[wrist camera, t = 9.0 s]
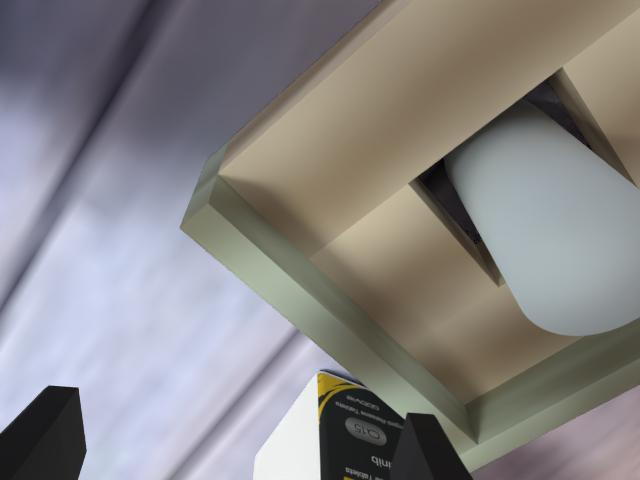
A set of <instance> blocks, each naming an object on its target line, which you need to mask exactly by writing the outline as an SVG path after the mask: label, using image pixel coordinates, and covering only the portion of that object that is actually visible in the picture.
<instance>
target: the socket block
mask: <svg viewBox="0 0 640 480" xmlns="http://www.w3.org/2000/svg"><path fill="white" fill-rule="evenodd" d="M545 79H547V80H548V82H549V83H550V85H551V86H552V88H553V89H554V91H555V93H556V94H557V96H558V97H559V99H560V100H561V102H562V103H563V105H564V107H565V108H566V110H567V111H568V113H569V114H570V116H571V117H572V119H573V120H574V122H575V124H576V125H577V127H578V128H579V130H580V131H581V133H582V134H583V136H584V137H585V139H586V141H587V142H588V144H589V145H590V147H591V148H592V150H593V151H594V153H595V154H596V155H597V156H599V157H600V158H601V159H602V160H604V161H605V162H606V163H607V164H609V165H610V166H611V167H612V168H614V169H615V170H616V171H617V172H618V173H620V174H621V175H622V176H623V177H625V178H626V179H627V180H628V181H630V182H631V183H632V184H633V185H635V186H636V187H637V188H638V189H640V0H383V1H382V2H381V3H380V4H378V5H377V6H376V7H375V8H374V9H373V10H372V11H371V12H370V13H369V14H367V15H366V16H365V17H364V18H363V19H362V20H361V21H360V22H359V23H358V24H356V25H355V26H354V27H353V28H352V29H351V30H350V31H349V32H348V33H347V34H345V35H344V36H343V37H342V38H341V39H340V40H339V41H338V42H337V43H336V44H334V45H333V46H332V47H331V48H330V49H329V50H328V51H327V52H326V53H325V54H323V55H322V56H321V57H320V58H319V59H318V60H317V61H316V62H315V63H314V64H312V65H311V66H310V67H309V68H308V69H307V70H306V71H305V72H304V73H303V74H301V75H300V76H299V77H298V78H297V79H296V80H295V81H294V82H293V83H292V84H290V85H289V86H288V87H287V88H286V89H285V90H284V91H283V92H282V93H281V94H279V95H278V96H277V97H276V98H275V99H274V100H273V101H272V102H271V103H270V104H268V105H267V106H266V107H265V108H264V109H263V110H262V111H261V112H260V113H259V114H257V115H256V116H255V117H254V118H253V119H252V120H251V121H250V122H249V123H248V124H246V125H245V126H244V127H243V128H242V129H241V130H240V131H239V132H238V133H237V134H235V135H234V136H233V137H232V138H231V139H230V140H229V141H228V142H227V143H226V144H224V145H223V146H222V147H221V148H220V149H219V150H218V151H217V152H216V153H215V154H213V155H212V156H211V157H210V158H209V159H208V160H207V161H206V163H205V165H204V168H203V170H202V173H201V175H200V178H199V180H198V183H197V185H196V188H195V190H194V193H193V195H192V198H191V200H190V203H189V205H188V208H187V210H186V213H185V215H184V218H183V220H182V223H181V225H180V229H181V230H182V231H183V232H185V233H186V234H187V235H188V236H189V237H190V238H192V239H193V240H194V241H195V242H196V243H198V244H199V245H200V246H201V247H202V248H203V249H205V250H206V251H207V252H208V253H209V254H210V255H212V256H213V257H214V258H215V259H216V260H218V261H219V262H220V263H221V264H222V265H223V266H225V267H226V268H227V269H228V270H229V271H231V272H232V273H233V274H234V275H235V276H236V277H238V278H239V279H240V280H241V281H242V282H243V283H245V284H246V285H247V286H248V287H249V288H251V289H252V290H253V291H254V292H255V293H256V294H258V295H259V296H260V297H261V298H262V299H264V300H265V301H266V302H267V303H268V304H269V305H271V306H272V307H273V308H274V309H275V310H276V311H278V312H279V313H280V314H281V315H282V316H284V317H285V318H286V319H287V320H288V321H289V322H291V323H292V324H293V325H294V326H295V327H297V328H298V329H299V330H300V331H301V332H302V333H304V334H305V335H306V336H307V337H308V338H310V339H311V340H312V341H313V342H314V343H315V344H317V345H318V346H319V347H320V348H321V349H322V350H324V351H325V352H326V353H327V354H328V355H330V356H331V357H332V358H333V359H334V360H335V361H337V362H338V363H339V364H340V365H341V366H343V367H344V368H345V369H346V370H347V371H348V372H350V373H351V374H352V375H353V376H354V377H355V378H357V379H358V380H359V381H360V382H361V383H363V384H364V385H365V386H366V387H367V388H368V389H370V390H371V391H372V392H373V393H374V394H376V395H377V396H378V397H379V398H380V399H381V400H383V401H384V402H385V403H386V404H387V405H388V406H390V407H391V408H392V409H393V410H394V411H396V412H397V413H398V414H399V415H400V416H401V417H403V418H404V419H405V418H406V415H407V412H410V413H423V414H434V415H435V417H436V418H437V419H438V421H439V423H440V424H441V426H442V428H443V430H444V431H445V433H446V435H447V437H448V438H449V440H450V442H451V444H452V445H453V447H454V449H455V450H456V452H457V454H458V455H459V457H460V459H461V460H462V462H463V464H464V465H465V467H466V469H467V470H468V472H469V473H471V472H473V471H475V470H477V469H478V468H480V467H482V466H484V465H486V464H488V463H490V462H492V461H494V460H496V459H498V458H500V457H501V456H503V455H505V454H507V453H509V452H511V451H513V450H515V449H517V448H519V447H521V446H523V445H524V444H526V443H528V442H530V441H532V440H534V439H536V438H538V437H540V436H542V435H544V434H546V433H547V432H549V431H551V430H553V429H555V428H557V427H559V426H561V425H563V424H565V423H567V422H569V421H570V420H572V419H574V418H576V417H578V416H580V415H582V414H584V413H586V412H588V411H590V410H592V409H594V408H595V407H597V406H599V405H601V404H603V403H605V402H607V401H609V400H611V399H613V398H615V397H617V396H618V395H620V394H622V393H624V392H626V391H628V390H630V389H632V388H634V387H636V386H638V385H640V317H639V318H637V319H635V320H633V321H632V322H630V323H628V324H626V325H624V326H621V327H619V328H616V329H613V330H611V331H607V332H603V333H600V334H594V335H587V336H567V335H560V334H556V333H552V332H549V331H547V330H544V329H542V328H540V327H539V326H537V325H535V324H534V323H533V322H532V321H530V320H529V319H528V318H527V317H526V315H525V314H524V313H523V311H522V310H521V308H520V306H519V305H518V303H517V301H516V299H515V297H514V296H513V294H512V292H511V290H510V288H509V287H508V285H507V283H506V281H505V279H504V277H503V276H502V274H501V272H500V270H499V268H498V267H497V265H496V263H495V261H494V259H493V258H492V256H491V254H490V252H489V250H488V248H487V247H486V245H485V243H484V241H483V240H481V241H480V242H478V243H477V244H475V243H474V242H473V241H472V240H471V239H470V238H469V236H468V235H467V234H466V233H465V232H464V231H463V229H462V228H461V227H460V226H459V225H458V224H457V222H456V221H455V220H454V219H453V218H452V216H451V215H450V214H449V213H448V212H447V211H446V209H445V208H444V207H443V206H442V205H441V204H440V202H439V201H438V200H437V199H436V198H435V197H434V195H433V194H432V193H431V192H430V191H429V190H428V188H427V187H426V186H425V185H424V184H423V183H422V181H421V180H420V179H419V178H418V177H417V176H419V175H420V174H421V173H423V172H424V171H425V170H427V169H428V168H429V167H430V166H432V165H433V164H434V163H436V162H437V161H438V160H440V159H441V158H442V157H444V156H445V155H446V154H448V153H449V152H450V151H452V150H453V149H454V148H456V147H457V146H458V145H460V144H461V143H462V142H463V141H465V140H466V139H467V138H469V137H470V136H471V135H473V134H474V133H475V132H477V131H478V130H479V129H481V128H482V127H483V126H485V125H486V124H487V123H489V122H490V121H491V120H493V119H494V118H495V117H496V116H498V115H499V114H500V113H502V112H503V111H504V110H506V109H507V108H508V107H510V106H511V105H512V104H514V103H515V102H516V101H518V100H519V99H520V98H522V97H523V96H524V95H525V94H527V93H528V92H529V91H531V90H532V89H533V88H535V87H536V86H537V85H539V84H540V83H541V82H543V81H544V80H545Z"/></svg>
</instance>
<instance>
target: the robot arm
mask: <svg viewBox="0 0 640 480" xmlns="http://www.w3.org/2000/svg"><path fill="white" fill-rule="evenodd" d="M86 452H87V450H86V442H85V434H84V427H83V419H82V411H81V404H80V396H79V389H78V388H76V387H63V386H48V387H46V388H45V389H44V390H43V391H42V392H41V393H40V394H39V395H38V396H37V397H36V398H35V399H34V400H33V401H32V402H31V403H30V404H29V405H28V406H27V407H26V408H25V409H24V410H23V411H22V412H21V413H20V414H19V415H18V416H17V417H16V418H15V419H14V420H13V421H12V422H11V423H10V424H9V425H8V426H7V427H6V428H5V429H4V430H3V431H2V432H1V433H0V480H78V478H79V474H80V471H81V468H82V465H83V461H84V458H85V455H86ZM389 472H390V480H473V478H472V477H471V475H470V473H469V472H468V470H467V469H466V467H465V465H464V464H463V462H462V460H461V459H460V457H459V455H458V454H457V452H456V450H455V449H454V447H453V445H452V444H451V442H450V440H449V438H448V437H447V435H446V433H445V431H444V430H443V428H442V426H441V424H440V423H439V421H438V419H437V418H436V417H435V415H434V414H423V413H410V412H407V415H406V418H405V421H404V425H403V428H402V431H401V435H400V438H399V441H398V444H397V448H396V451H395V454H394V457H393V461H392V464H391V467H390V471H389Z"/></svg>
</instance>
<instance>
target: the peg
mask: <svg viewBox="0 0 640 480" xmlns="http://www.w3.org/2000/svg"><path fill="white" fill-rule="evenodd" d="M443 159H444V167H445V171H446V173H447V176H448V178H449V180H450V181H451V183H452V185H453V187H454V189H455V190H456V192H457V194H458V196H459V198H460V199H461V201H462V203H463V205H464V207H465V209H466V210H467V212H468V214H469V216H470V218H471V219H472V221H473V223H474V225H475V227H476V229H477V230H478V232H479V234H480V236H481V238H482V239H483V241H484V243H485V245H486V247H487V248H488V250H489V252H490V254H491V256H492V258H493V259H494V261H495V263H496V265H497V267H498V268H499V270H500V272H501V274H502V276H503V277H504V279H505V281H506V283H507V285H508V287H509V288H510V290H511V292H512V294H513V296H514V297H515V299H516V301H517V303H518V305H519V306H520V308H521V310H522V311H523V313H524V314H525V315H526V317H527V318H528V319H529V320H530V321H532V322H533V323H534V324H535V325H537V326H539V327H540V328H542V329H544V330H547V331H549V332H552V333H556V334H560V335H567V336H587V335H594V334H600V333H603V332H607V331H611V330H613V329H616V328H619V327H621V326H624V325H626V324H628V323H630V322H632V321H633V320H635V319H637V318H639V317H640V189H638V188H637V187H636V186H635V185H633V184H632V183H631V182H630V181H628V180H627V179H626V178H625V177H623V176H622V175H621V174H620V173H618V172H617V171H616V170H615V169H614V168H612V167H611V166H610V165H609V164H607V163H606V162H605V161H604V160H602V159H601V158H600V157H599V156H597V155H596V154H595V153H594V152H592V151H591V150H590V149H589V148H587V147H586V146H585V145H584V144H582V143H581V142H580V141H579V140H578V139H576V138H575V137H574V136H573V135H571V134H570V133H569V132H568V131H566V130H565V129H564V128H563V127H561V126H560V125H559V124H558V123H556V122H555V121H554V120H553V119H551V118H550V117H549V116H548V115H547V114H545V113H544V112H543V111H542V110H540V109H539V108H538V107H536V106H535V105H534V104H532V103H530V102H528V101H525V100H523V99H519V100H518V101H516V102H515V103H514V104H512V105H511V106H510V107H508V108H507V109H506V110H504V111H503V112H502V113H500V114H499V115H498V116H496V117H495V118H494V119H493V120H491V121H490V122H489V123H487V124H486V125H485V126H483V127H482V128H481V129H479V130H478V131H477V132H475V133H474V134H473V135H471V136H470V137H469V138H467V139H466V140H465V141H463V142H462V143H461V144H460V145H458V146H457V147H456V148H454V149H453V150H452V151H450V152H449V153H448V154H446V155H445V156H444V157H443Z"/></svg>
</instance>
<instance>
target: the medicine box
mask: <svg viewBox="0 0 640 480" xmlns="http://www.w3.org/2000/svg"><path fill="white" fill-rule="evenodd" d="M404 421H405V419H404V418H403V417H401V416H400V415H399V414H398V413H397V412H396V411H394V410H393V409H392V408H391V407H390V406H388V405H387V404H386V403H385V402H384V401H383V400H381V399H380V398H379V397H378V396H377V395H376V394H374V393H373V392H372V391H371V390H370V389H368V388H366V387H364V386H361V385H358V384H356V383H353V382H351V381H348V380H345V379H343V378H340V377H338V376H335V375H332V374H330V373H327V372H324V371H319V372H317V373H315V375H314V376H313V377H312V379H311V380H310V381H309V383H308V384H307V386H306V387H305V388H304V390H303V391H302V392H301V394H300V395H299V397H298V398H297V399H296V401H295V402H294V403H293V405H292V406H291V408H290V409H289V410H288V412H287V413H286V414H285V416H284V417H283V419H282V420H281V421H280V423H279V424H278V425H277V427H276V428H275V430H274V431H273V432H272V434H271V435H270V436H269V438H268V439H267V441H266V442H265V443H264V445H263V446H262V447H261V449H260V450H259V452H258V453H257V454H256V457H255V463H254V474H253V480H390V472H389V471H390V467H391V464H392V461H393V457H394V454H395V451H396V448H397V444H398V441H399V438H400V435H401V431H402V428H403V425H404Z"/></svg>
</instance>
